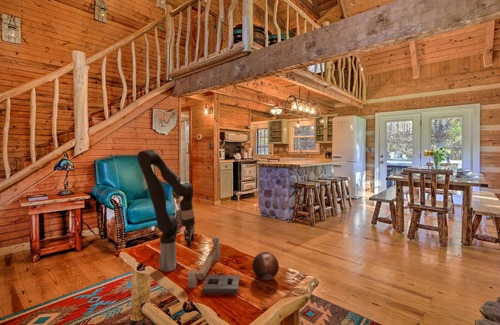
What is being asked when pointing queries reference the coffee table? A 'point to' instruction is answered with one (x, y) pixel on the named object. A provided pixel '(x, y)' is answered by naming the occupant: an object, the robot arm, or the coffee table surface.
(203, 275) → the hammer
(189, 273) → the block
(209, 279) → the socket plate
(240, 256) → the coffee table surface
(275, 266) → the wooden sphere
